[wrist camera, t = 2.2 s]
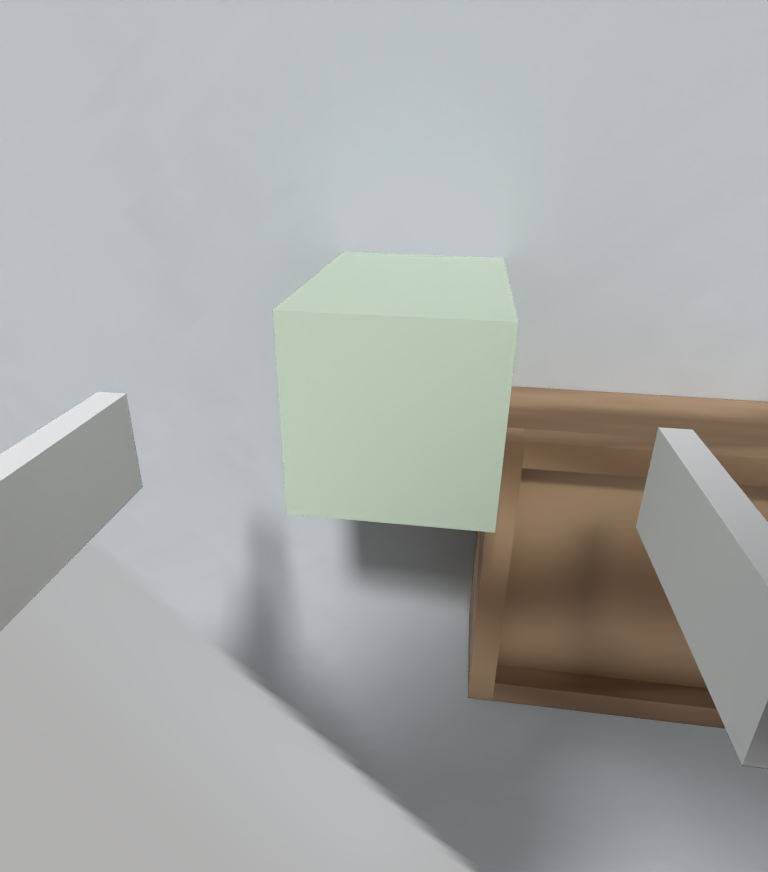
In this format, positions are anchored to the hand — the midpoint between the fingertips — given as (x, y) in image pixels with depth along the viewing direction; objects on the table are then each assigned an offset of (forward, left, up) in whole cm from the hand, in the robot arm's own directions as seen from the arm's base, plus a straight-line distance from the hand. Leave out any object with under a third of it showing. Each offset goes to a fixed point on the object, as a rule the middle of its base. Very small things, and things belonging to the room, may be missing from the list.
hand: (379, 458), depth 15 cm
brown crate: (+8, +9, -10) cm, 16 cm away
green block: (0, 0, -10) cm, 10 cm away
